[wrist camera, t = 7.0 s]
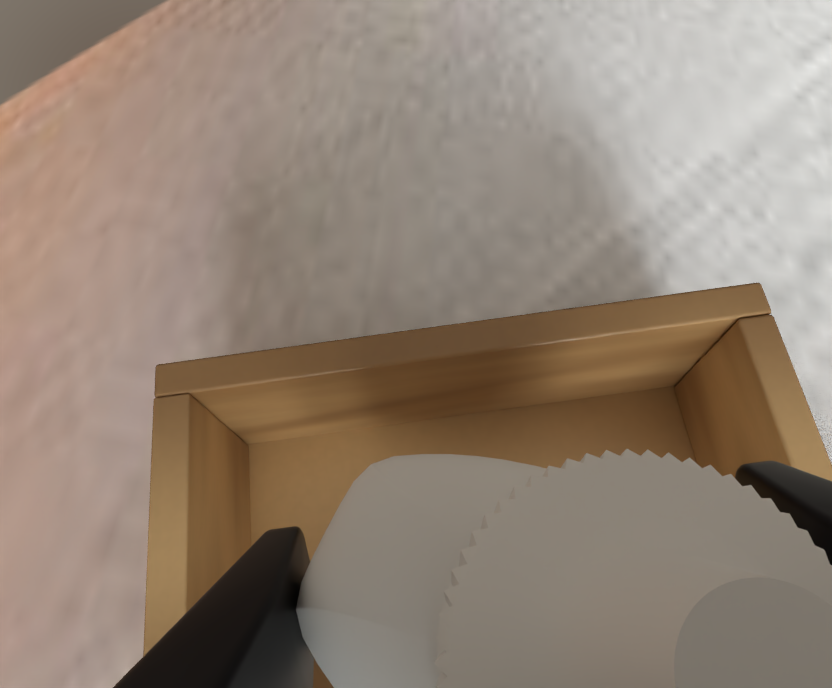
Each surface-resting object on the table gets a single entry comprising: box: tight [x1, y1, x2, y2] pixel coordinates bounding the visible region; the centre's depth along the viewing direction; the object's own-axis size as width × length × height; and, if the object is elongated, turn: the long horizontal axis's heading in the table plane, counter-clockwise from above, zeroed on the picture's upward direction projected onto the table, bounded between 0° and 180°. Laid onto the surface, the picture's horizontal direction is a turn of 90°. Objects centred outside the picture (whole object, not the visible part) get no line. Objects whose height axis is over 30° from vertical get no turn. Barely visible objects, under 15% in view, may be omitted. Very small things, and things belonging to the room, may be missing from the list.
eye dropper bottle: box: [296, 449, 832, 688], centre depth 8 cm, size 4×6×12 cm
